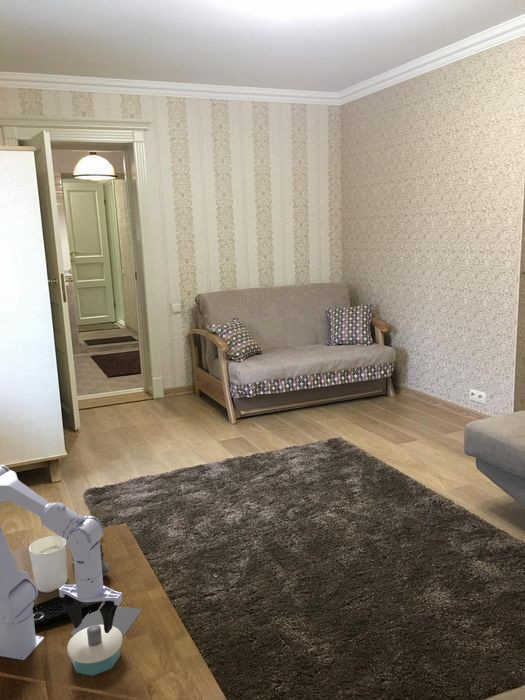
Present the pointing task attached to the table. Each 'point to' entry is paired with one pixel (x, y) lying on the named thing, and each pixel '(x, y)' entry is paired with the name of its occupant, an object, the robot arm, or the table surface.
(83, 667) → the bowl
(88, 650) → the lid
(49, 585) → the candle holder
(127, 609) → the mat
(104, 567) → the salt shaker
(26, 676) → the table surface
